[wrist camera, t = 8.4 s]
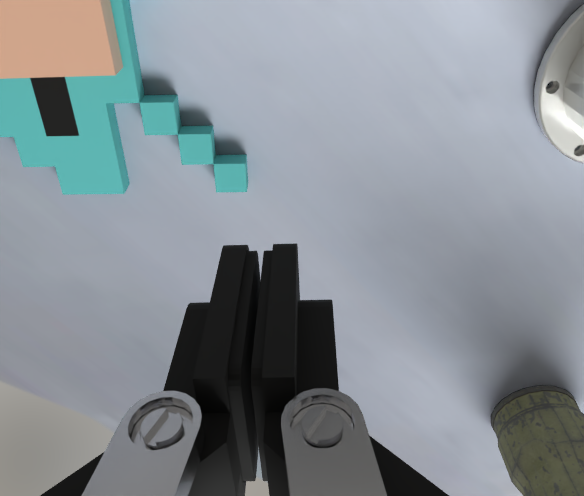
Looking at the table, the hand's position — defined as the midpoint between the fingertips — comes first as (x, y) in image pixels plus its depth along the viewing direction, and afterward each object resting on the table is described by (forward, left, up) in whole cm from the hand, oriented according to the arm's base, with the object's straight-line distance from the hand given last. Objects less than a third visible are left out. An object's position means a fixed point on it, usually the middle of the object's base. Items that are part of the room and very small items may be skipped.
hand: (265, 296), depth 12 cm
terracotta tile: (+13, 0, -24) cm, 27 cm away
